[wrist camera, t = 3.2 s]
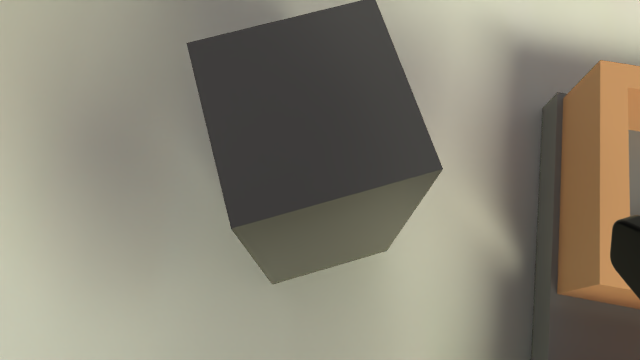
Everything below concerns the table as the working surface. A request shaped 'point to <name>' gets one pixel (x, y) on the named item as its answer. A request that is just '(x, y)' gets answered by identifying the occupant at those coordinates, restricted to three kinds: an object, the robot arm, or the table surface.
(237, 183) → the dark grey block
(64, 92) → the table surface
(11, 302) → the table surface
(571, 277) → the orange and grey housing
